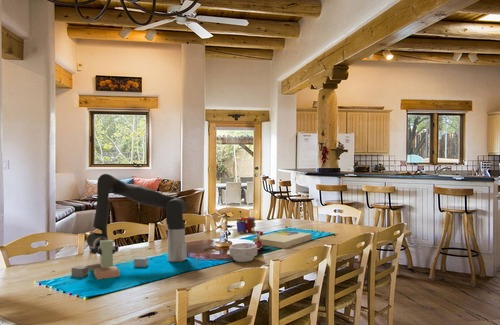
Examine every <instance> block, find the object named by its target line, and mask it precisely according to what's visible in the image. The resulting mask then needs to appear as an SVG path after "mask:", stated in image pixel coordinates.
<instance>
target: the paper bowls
mask: <svg viewBox="0 0 500 325" xmlns="http://www.w3.org/2000/svg"><path fill="white" fill-rule="evenodd" d="M228 248H229V252H228V253H229V256H230V257H232V259H233V260H234V261H236V262H237V263H238V262H239V263H247V262H252V261H253V260H254V258H255V256H257V255H258V250H257V245H255V244H253V243H249V242H241V243H233V244H230V245H229V247H228Z"/></svg>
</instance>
